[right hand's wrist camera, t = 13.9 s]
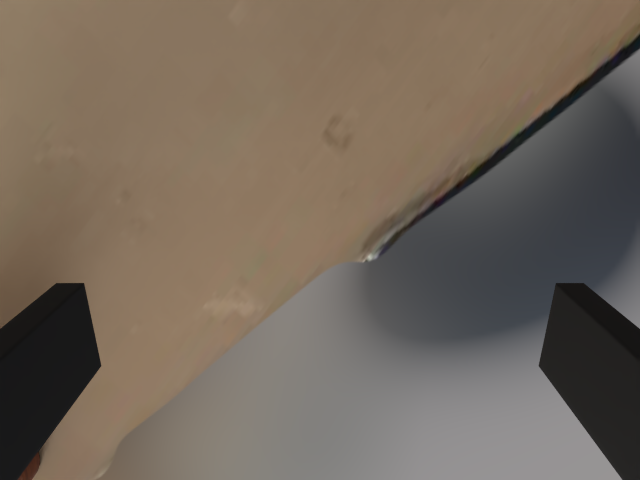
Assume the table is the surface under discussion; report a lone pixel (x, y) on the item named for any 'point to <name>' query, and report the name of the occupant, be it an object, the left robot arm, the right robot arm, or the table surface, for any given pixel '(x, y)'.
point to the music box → (31, 469)
